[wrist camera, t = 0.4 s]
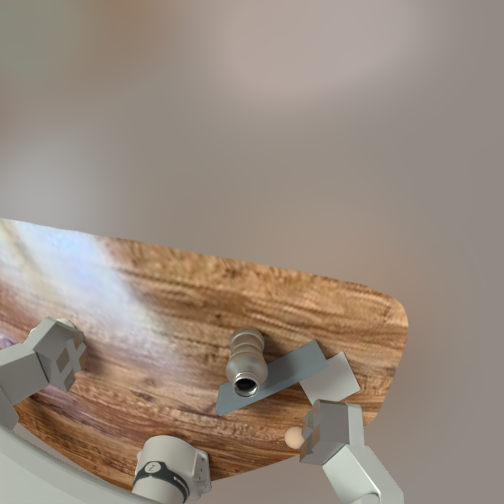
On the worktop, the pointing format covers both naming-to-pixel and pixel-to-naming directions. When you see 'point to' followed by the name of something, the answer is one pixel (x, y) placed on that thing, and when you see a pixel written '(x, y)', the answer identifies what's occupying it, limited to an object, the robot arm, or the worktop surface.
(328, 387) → the grey mat
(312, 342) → the slate screen
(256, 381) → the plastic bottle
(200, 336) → the worktop surface
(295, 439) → the egg
